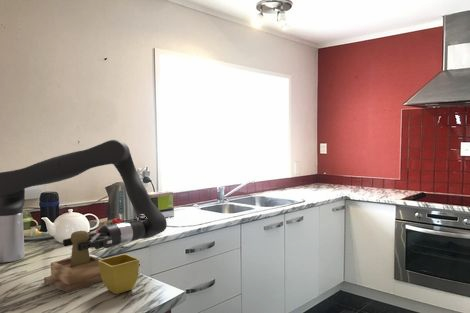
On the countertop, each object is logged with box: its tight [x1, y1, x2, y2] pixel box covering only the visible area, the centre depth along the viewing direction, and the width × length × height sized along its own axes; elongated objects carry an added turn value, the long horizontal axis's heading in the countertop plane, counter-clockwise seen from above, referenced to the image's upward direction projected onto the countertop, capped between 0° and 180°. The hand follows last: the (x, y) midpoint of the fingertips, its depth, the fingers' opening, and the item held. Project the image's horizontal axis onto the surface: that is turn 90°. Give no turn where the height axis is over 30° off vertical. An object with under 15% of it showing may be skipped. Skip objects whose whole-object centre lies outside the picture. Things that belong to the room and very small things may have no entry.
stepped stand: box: [43, 255, 103, 294], centre depth 116 cm, size 14×14×6 cm
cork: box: [70, 230, 91, 268], centre depth 115 cm, size 6×6×11 cm
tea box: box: [143, 190, 175, 218], centre depth 217 cm, size 15×10×15 cm
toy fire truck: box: [95, 217, 123, 233], centre depth 167 cm, size 3×14×10 cm, turn 65°
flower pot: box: [99, 253, 140, 295], centre depth 107 cm, size 9×9×9 cm
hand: (70, 245), depth 114 cm, fingers open, 8 cm apart
